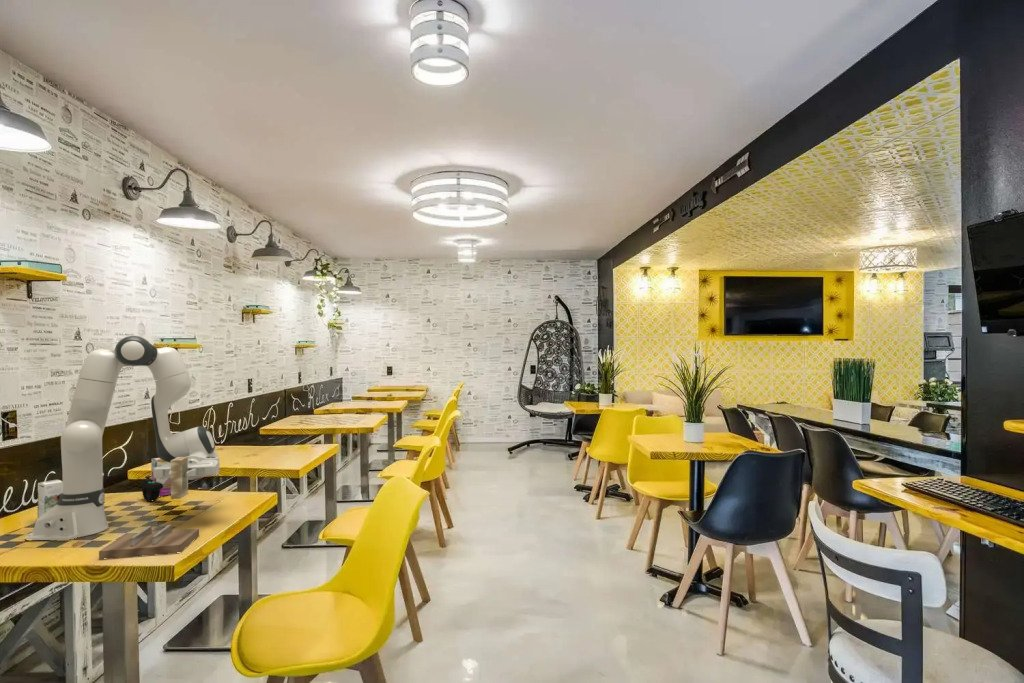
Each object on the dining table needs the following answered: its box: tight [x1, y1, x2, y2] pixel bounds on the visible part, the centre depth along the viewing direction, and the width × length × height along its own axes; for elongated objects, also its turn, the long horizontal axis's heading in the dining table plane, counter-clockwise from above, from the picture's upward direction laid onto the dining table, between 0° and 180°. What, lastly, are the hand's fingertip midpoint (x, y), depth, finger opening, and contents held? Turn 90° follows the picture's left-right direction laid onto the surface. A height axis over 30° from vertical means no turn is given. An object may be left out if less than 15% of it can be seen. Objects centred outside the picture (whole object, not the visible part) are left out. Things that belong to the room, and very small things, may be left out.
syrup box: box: [37, 479, 63, 519], centre depth 203 cm, size 6×6×14 cm
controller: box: [140, 475, 163, 502], centre depth 227 cm, size 4×12×10 cm, turn 57°
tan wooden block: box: [170, 456, 189, 500], centre depth 187 cm, size 3×6×13 cm, turn 11°
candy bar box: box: [150, 457, 171, 497], centre depth 238 cm, size 11×5×16 cm, turn 144°
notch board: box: [98, 524, 200, 560], centre depth 172 cm, size 22×16×5 cm
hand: (178, 475), depth 186 cm, fingers closed on tan wooden block, 3 cm apart
